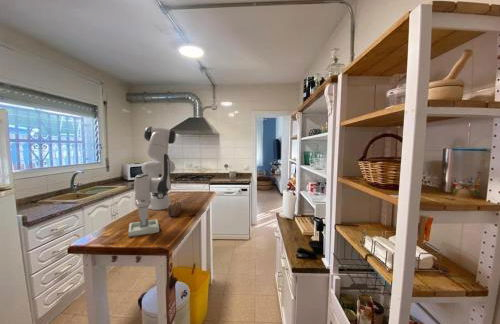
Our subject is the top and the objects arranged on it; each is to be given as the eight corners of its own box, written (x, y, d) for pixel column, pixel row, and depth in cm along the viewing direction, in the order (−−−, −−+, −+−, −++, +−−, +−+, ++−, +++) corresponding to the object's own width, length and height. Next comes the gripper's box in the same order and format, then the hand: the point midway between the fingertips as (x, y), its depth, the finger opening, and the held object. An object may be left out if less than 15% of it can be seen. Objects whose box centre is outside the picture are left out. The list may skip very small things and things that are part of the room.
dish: (129, 227, 138) (129, 223, 138) (157, 223, 145) (157, 219, 145) (128, 237, 124) (128, 231, 123) (159, 232, 131) (159, 227, 130)
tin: (170, 217, 157) (170, 206, 157) (166, 217, 158) (166, 205, 157) (181, 211, 172) (181, 200, 171) (177, 211, 173) (177, 200, 172)
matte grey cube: (140, 225, 135) (139, 217, 135) (148, 224, 137) (147, 216, 137) (140, 227, 131) (139, 219, 131) (148, 226, 133) (148, 218, 133)
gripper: (137, 197, 141) (138, 218, 142) (136, 205, 123) (138, 229, 124) (148, 196, 144) (149, 217, 145) (149, 203, 125) (150, 227, 126)
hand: (144, 223), depth 134 cm, fingers closed on matte grey cube, 4 cm apart
